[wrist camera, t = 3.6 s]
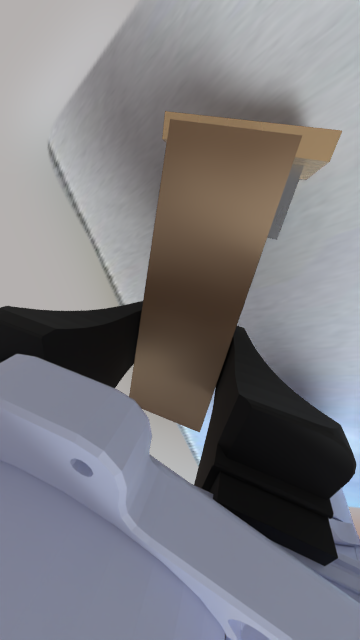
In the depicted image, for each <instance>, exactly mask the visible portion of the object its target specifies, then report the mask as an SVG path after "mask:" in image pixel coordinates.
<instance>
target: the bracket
mask: <svg viewBox="0 0 360 640" xmlns="http://www.w3.org/2000/svg"><path fill="white" fill-rule="evenodd" d="M170 119H174V120H182V121H190V122H198V123H206V124H214V125H222V126H230V127H238V128H246V129H254V130H262V131H270V132H278V133H286V134H294V135H302V138H301V141H300V144H299V147H298V150H297V153H296V155H295V158H294V161H293V164H292V167H291V170H290V173H289V176H288V179H287V181H286V184H285V187H284V190H283V193H282V196H281V199H280V202H279V205H278V207H277V210H276V213H275V216H274V219H273V222H272V225H271V228H270V231H269V233H268V236H267V238H272V239H276V240H277V238H278V235H279V232H280V230H281V227H282V224H283V222H284V219H285V216H286V214H287V211H288V208H289V205H290V203H291V200H292V197H293V195H294V192H295V189H296V187H297V184H298V181H299V179H304V180H306V179H308V178H309V177H310V176H312V175H313V174H314V173H316V172H317V171H318V170H319V169H321V168H322V167H323V166H325V165H326V164H327V163H329V162H330V159H331V157H332V154H333V152H334V150H335V147H336V145H337V142H338V140H339V138H340V135H341V133H342V131H340V130H331V129H322V128H313V127H304V126H295V125H286V124H277V123H268V122H258V121H249V120H240V119H231V118H222V117H213V116H204V115H195V114H186V113H177V112H168V111H165V118H164V127H163V137H162V139H163V140H164V141H165V142H166V143H167V137H168V130H169V123H170Z"/></svg>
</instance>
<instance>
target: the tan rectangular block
mask: <svg viewBox="0 0 360 640" xmlns="http://www.w3.org/2000/svg"><path fill="white" fill-rule="evenodd" d="M301 138H302V135H294V134H286V133H278V132H270V131H262V130H254V129H246V128H238V127H230V126H222V125H214V124H206V123H198V122H190V121H182V120H174V119H170V123H169V130H168V137H167V144H166V150H165V157H164V164H163V171H162V177H161V184H160V191H159V198H158V205H157V211H156V218H155V225H154V232H153V239H152V245H151V252H150V259H149V266H148V272H147V279H146V286H145V293H144V300H143V306H142V313H141V320H140V327H139V334H138V340H137V347H136V354H135V361H134V367H133V374H132V381H131V388H130V395H129V397H130V398H132V399H133V400H135V401H136V402H137V404H138V405H139V406H140V407H141V408H142V409H144V410H146V411H149V412H151V413H154V414H156V415H159V416H161V417H164V418H166V419H168V420H171V421H173V422H176V423H178V424H180V425H183V426H185V427H188V428H190V429H193V430H195V431H198V432H200V430H201V427H202V424H203V421H204V418H205V415H206V413H207V410H208V407H209V404H210V401H211V398H212V395H213V392H214V389H215V387H216V384H217V381H218V378H219V375H220V372H221V369H222V366H223V363H224V361H225V358H226V355H227V352H228V349H229V346H230V343H231V340H232V337H233V335H234V332H235V329H236V326H237V323H238V320H239V317H240V314H241V311H242V309H243V306H244V303H245V300H246V297H247V294H248V291H249V288H250V285H251V283H252V280H253V277H254V274H255V271H256V268H257V265H258V262H259V259H260V257H261V254H262V251H263V248H264V245H265V242H266V239H267V236H268V233H269V231H270V228H271V225H272V222H273V219H274V216H275V213H276V210H277V207H278V205H279V202H280V199H281V196H282V193H283V190H284V187H285V184H286V181H287V179H288V176H289V173H290V170H291V167H292V164H293V161H294V158H295V155H296V153H297V150H298V147H299V144H300V141H301Z"/></svg>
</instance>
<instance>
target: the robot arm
mask: <svg viewBox="0 0 360 640" xmlns="http://www.w3.org/2000/svg"><path fill="white" fill-rule="evenodd" d="M142 306H143V301H141V302H137V303H132V304H128V305H123V306H118V307H113V308H107V309H99V310H89V311H49V310H36V309H27V308H18V307H11V306H5V307H1V308H0V640H360V539H359V536H358V534H357V531H356V529H355V526H354V523H353V520H352V517H351V514H350V511H349V508H348V505H347V502H346V499H345V496H344V493H343V489H342V487H343V486H344V485H345V484H346V483H348V482H349V481H350V479H351V478H352V477H353V475H354V474H355V469H356V461H355V458H354V455H353V452H352V450H351V448H350V445H349V443H348V440H347V438H346V436H345V434H344V431H343V429H342V427H341V425H340V424H338V423H337V422H335V421H334V420H332V419H331V418H330V417H328V416H327V415H325V414H324V413H322V412H321V411H319V410H318V409H316V408H315V407H313V406H312V405H310V404H309V403H308V402H307V401H305V400H304V399H303V398H301V397H300V396H299V395H298V394H296V393H295V392H294V391H293V390H292V389H291V388H289V387H288V386H287V385H286V384H285V383H284V382H283V381H282V380H281V379H280V378H279V377H278V376H277V375H276V374H275V373H274V372H273V371H272V370H271V369H270V368H269V366H268V365H267V364H266V363H265V362H264V360H263V359H262V358H261V356H260V355H259V353H258V352H257V350H256V349H255V347H254V346H253V344H252V342H251V340H250V339H249V337H248V335H247V333H246V331H245V329H244V328H242V327H239V326H236V329H235V332H234V335H233V337H232V340H231V343H230V346H229V349H228V352H227V355H226V358H225V361H224V363H223V366H222V369H221V372H220V375H219V378H218V381H217V384H216V389H215V397H214V405H213V410H212V415H211V419H210V423H209V428H208V432H207V436H206V440H205V444H204V448H203V452H202V456H201V460H200V464H199V468H198V472H197V476H196V480H195V484H194V485H193V484H191V483H189V482H188V481H186V480H185V479H183V478H182V477H181V476H179V475H178V474H176V473H175V472H174V471H172V470H171V469H169V468H168V467H167V466H165V465H164V464H162V463H161V462H160V461H158V460H157V459H155V458H154V457H152V456H151V455H150V454H149V449H150V443H151V438H152V433H151V428H150V423H149V419H148V417H147V415H146V414H145V413H144V411H143V410H142V409H141V407H140V406H139V405H138V404H137V402H136V401H135V400H133V399H132V398H130V397H129V396H127V395H125V394H124V393H122V392H121V391H119V390H117V389H115V387H116V386H117V384H118V383H119V381H120V380H121V379H122V377H123V376H124V375H125V373H126V372H127V371H128V370H129V368H130V367H131V366H132V365H133V364H134V361H135V354H136V347H137V340H138V334H139V327H140V320H141V313H142Z"/></svg>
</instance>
